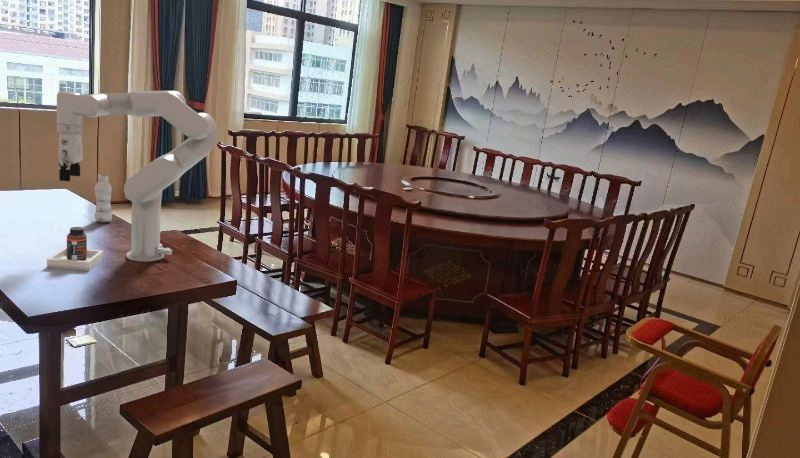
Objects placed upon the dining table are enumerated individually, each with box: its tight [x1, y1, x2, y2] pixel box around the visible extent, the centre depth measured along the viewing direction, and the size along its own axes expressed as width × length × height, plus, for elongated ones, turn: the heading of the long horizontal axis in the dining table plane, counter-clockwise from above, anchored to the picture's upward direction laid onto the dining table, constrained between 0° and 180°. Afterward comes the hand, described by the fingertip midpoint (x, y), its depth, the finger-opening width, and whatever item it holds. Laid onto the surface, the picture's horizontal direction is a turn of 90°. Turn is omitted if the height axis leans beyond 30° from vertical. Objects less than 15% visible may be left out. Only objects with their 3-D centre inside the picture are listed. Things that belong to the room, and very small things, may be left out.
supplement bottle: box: [66, 226, 88, 261], centre depth 196 cm, size 6×6×11 cm
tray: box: [46, 247, 105, 272], centre depth 197 cm, size 13×13×3 cm
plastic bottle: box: [94, 174, 113, 223], centre depth 245 cm, size 6×7×20 cm
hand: (70, 178), depth 201 cm, fingers open, 9 cm apart
